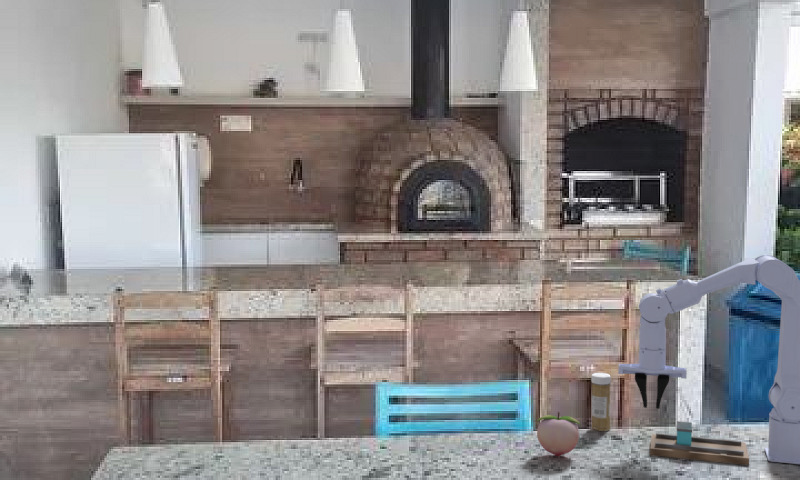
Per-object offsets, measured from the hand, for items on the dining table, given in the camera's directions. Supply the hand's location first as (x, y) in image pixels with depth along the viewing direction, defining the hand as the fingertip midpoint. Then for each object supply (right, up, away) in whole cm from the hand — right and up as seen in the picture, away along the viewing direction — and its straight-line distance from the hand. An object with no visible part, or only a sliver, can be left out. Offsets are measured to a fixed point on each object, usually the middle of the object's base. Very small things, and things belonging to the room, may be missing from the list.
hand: (651, 406), depth 178 cm
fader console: (+10, -10, -2) cm, 14 cm away
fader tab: (+7, -8, -2) cm, 10 cm away
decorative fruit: (-22, -10, -4) cm, 24 cm away
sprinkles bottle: (-8, -9, +14) cm, 18 cm away
